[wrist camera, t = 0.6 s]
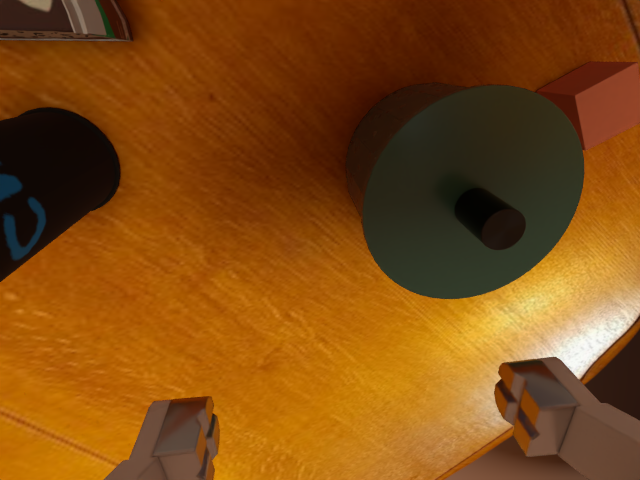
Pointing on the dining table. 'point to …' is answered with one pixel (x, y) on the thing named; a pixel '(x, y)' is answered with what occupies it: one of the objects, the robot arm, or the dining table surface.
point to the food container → (63, 20)
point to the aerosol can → (49, 179)
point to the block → (598, 99)
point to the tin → (384, 130)
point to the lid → (472, 191)
